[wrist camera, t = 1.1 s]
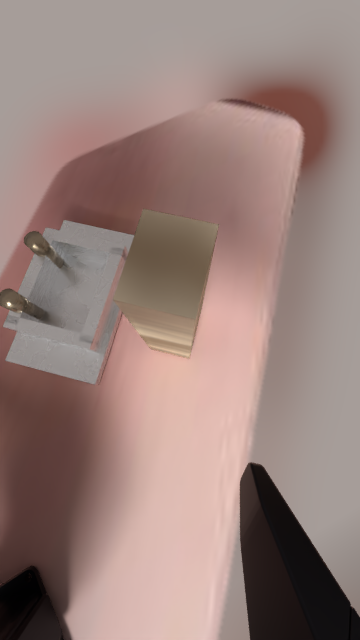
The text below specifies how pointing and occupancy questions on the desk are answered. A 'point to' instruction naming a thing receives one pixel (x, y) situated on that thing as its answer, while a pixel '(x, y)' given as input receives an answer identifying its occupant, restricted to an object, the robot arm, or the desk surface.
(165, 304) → the tan wooden block
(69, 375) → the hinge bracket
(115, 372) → the desk surface
